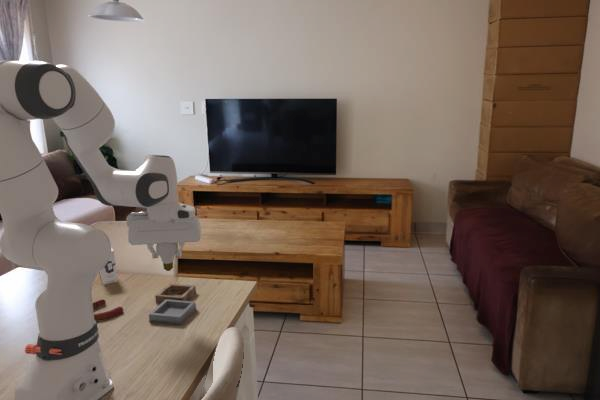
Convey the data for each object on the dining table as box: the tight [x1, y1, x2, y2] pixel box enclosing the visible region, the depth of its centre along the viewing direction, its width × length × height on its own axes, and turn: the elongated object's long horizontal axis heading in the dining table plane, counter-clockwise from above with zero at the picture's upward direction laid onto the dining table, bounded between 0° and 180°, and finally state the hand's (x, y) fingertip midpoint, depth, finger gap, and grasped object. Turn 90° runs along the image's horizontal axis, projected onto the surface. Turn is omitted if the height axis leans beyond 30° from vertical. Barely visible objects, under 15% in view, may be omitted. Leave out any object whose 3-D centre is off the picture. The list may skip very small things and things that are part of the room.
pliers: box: [92, 299, 124, 322], centre depth 135 cm, size 12×20×3 cm, turn 145°
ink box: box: [98, 246, 118, 285], centre depth 164 cm, size 8×5×12 cm, turn 32°
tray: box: [148, 299, 197, 326], centre depth 137 cm, size 10×10×2 cm
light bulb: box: [155, 242, 178, 272], centre depth 133 cm, size 6×6×10 cm
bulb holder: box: [154, 283, 197, 304], centre depth 149 cm, size 9×9×2 cm
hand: (167, 257), depth 133 cm, fingers closed on light bulb, 5 cm apart
